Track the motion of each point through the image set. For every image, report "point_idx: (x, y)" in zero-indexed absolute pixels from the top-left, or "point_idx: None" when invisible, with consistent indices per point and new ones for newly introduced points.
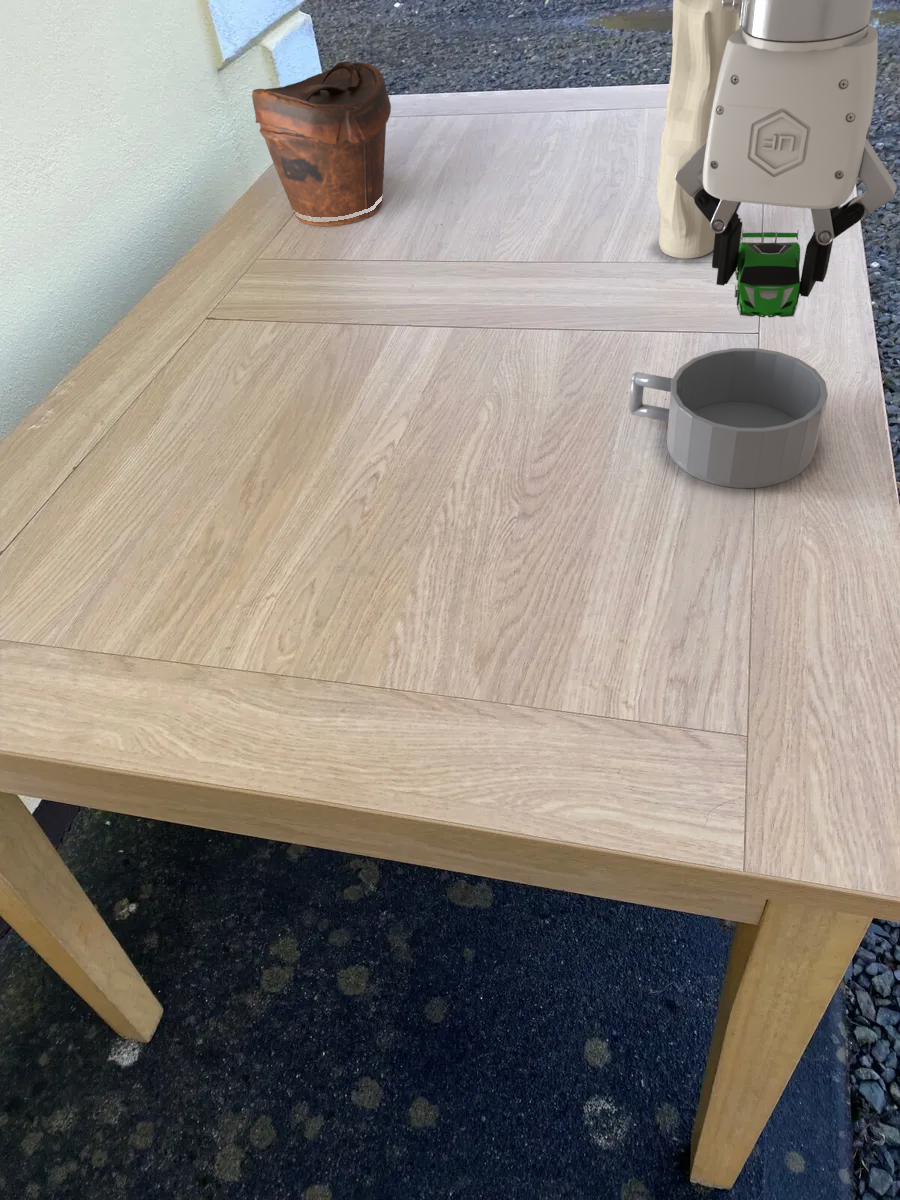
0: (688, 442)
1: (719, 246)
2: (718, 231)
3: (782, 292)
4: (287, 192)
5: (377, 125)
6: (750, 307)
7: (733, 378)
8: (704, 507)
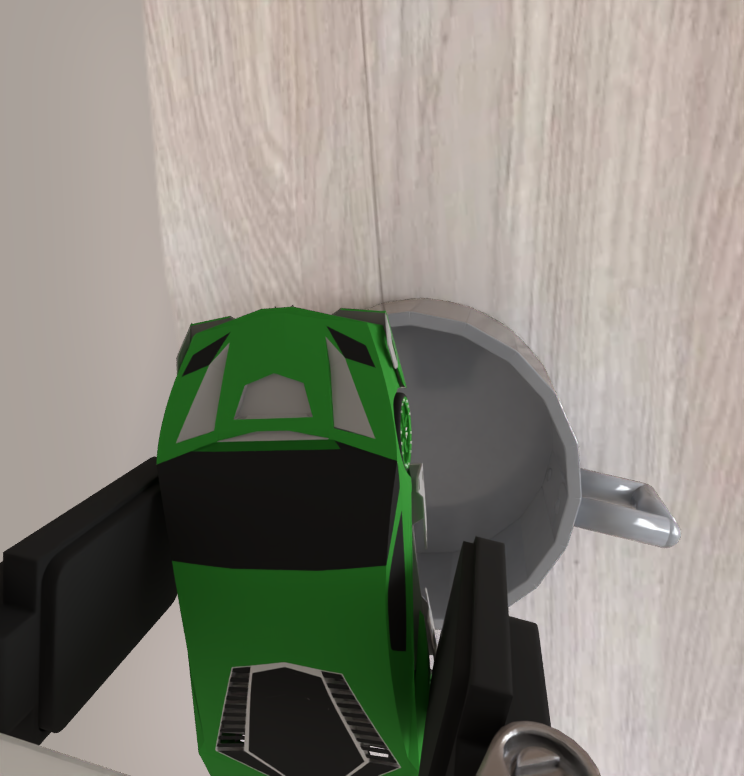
0: (517, 342)
1: (515, 685)
2: (536, 733)
3: (220, 412)
4: None
5: None
6: (344, 334)
7: (444, 579)
8: (467, 229)
